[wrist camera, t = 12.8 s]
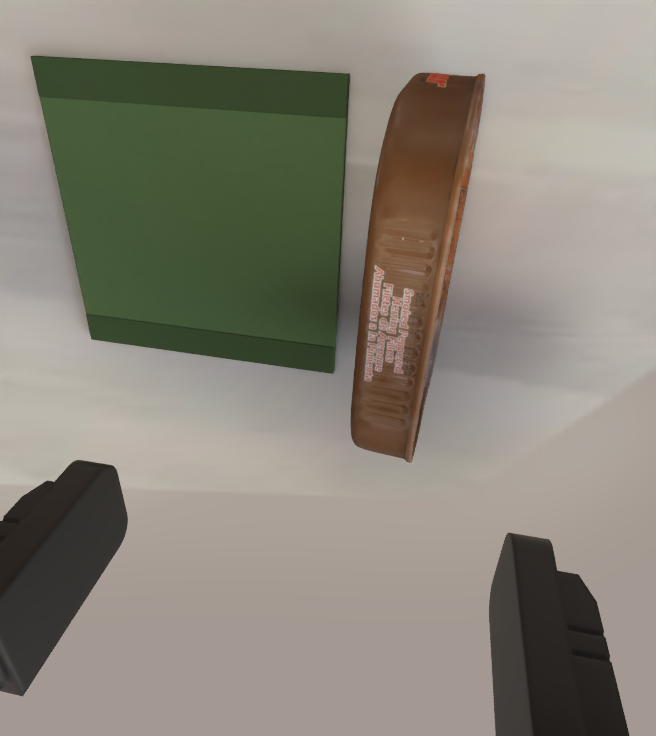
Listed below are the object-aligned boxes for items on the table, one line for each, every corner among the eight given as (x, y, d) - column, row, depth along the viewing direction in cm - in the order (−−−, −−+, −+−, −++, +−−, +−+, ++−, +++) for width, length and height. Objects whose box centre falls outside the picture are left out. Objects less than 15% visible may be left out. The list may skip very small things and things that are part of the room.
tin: (428, 393, 29) (417, 509, 22) (368, 383, 29) (339, 494, 22) (490, 67, 21) (505, 85, 14) (407, 61, 21) (381, 75, 14)
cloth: (35, 56, 24) (30, 55, 24) (349, 73, 22) (348, 74, 22) (94, 336, 31) (91, 339, 31) (334, 370, 29) (333, 374, 29)
